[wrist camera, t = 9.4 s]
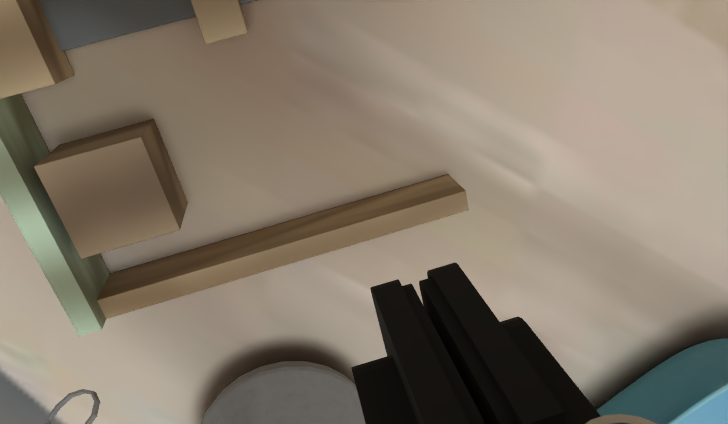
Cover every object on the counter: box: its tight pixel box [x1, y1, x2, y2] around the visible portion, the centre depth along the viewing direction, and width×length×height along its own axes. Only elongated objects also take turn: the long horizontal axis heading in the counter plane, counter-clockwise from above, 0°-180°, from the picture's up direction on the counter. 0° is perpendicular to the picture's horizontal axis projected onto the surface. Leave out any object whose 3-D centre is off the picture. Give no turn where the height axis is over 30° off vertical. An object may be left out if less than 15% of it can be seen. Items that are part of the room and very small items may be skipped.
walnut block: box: [34, 119, 188, 259], centre depth 29 cm, size 5×5×4 cm
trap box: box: [0, 0, 469, 336], centre depth 28 cm, size 19×22×4 cm
